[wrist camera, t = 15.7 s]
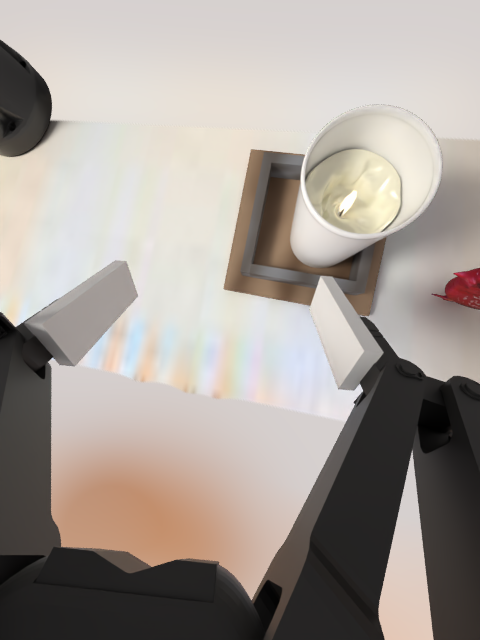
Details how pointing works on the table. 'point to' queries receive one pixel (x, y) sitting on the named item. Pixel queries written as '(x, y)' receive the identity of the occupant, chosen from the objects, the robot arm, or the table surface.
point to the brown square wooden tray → (287, 241)
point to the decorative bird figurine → (464, 289)
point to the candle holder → (363, 182)
